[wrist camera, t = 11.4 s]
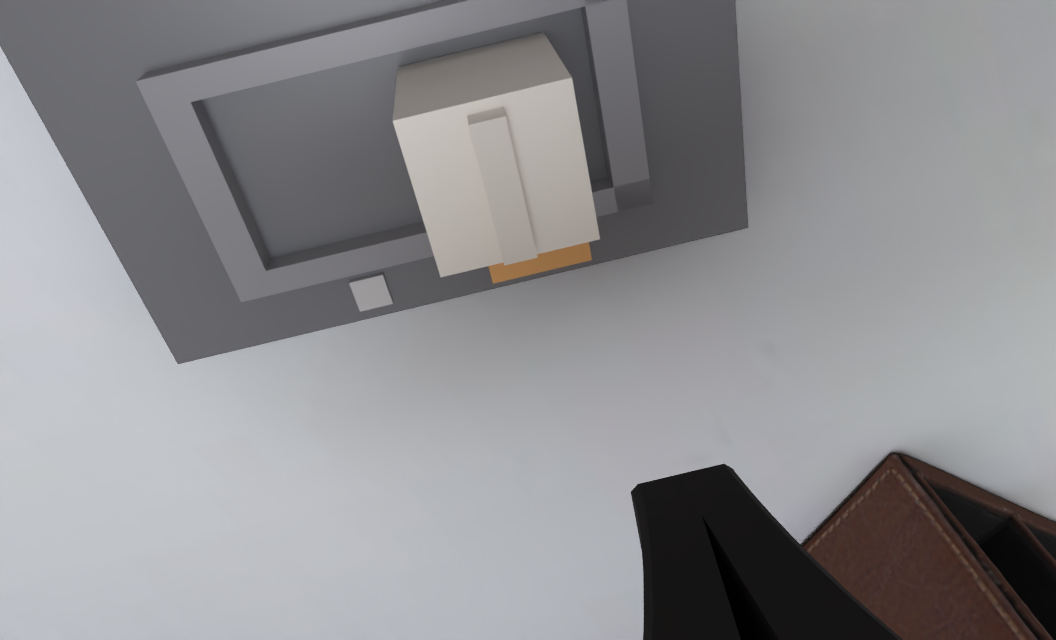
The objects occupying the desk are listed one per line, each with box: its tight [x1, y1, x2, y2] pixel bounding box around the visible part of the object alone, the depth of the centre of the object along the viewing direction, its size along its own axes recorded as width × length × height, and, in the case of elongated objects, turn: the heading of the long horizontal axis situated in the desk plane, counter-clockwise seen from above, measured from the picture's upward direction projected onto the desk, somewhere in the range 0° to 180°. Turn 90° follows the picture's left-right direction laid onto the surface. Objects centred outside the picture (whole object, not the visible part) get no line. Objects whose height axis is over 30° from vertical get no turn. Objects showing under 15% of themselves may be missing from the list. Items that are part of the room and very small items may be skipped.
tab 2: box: [393, 32, 600, 277], centre depth 15 cm, size 3×3×4 cm
